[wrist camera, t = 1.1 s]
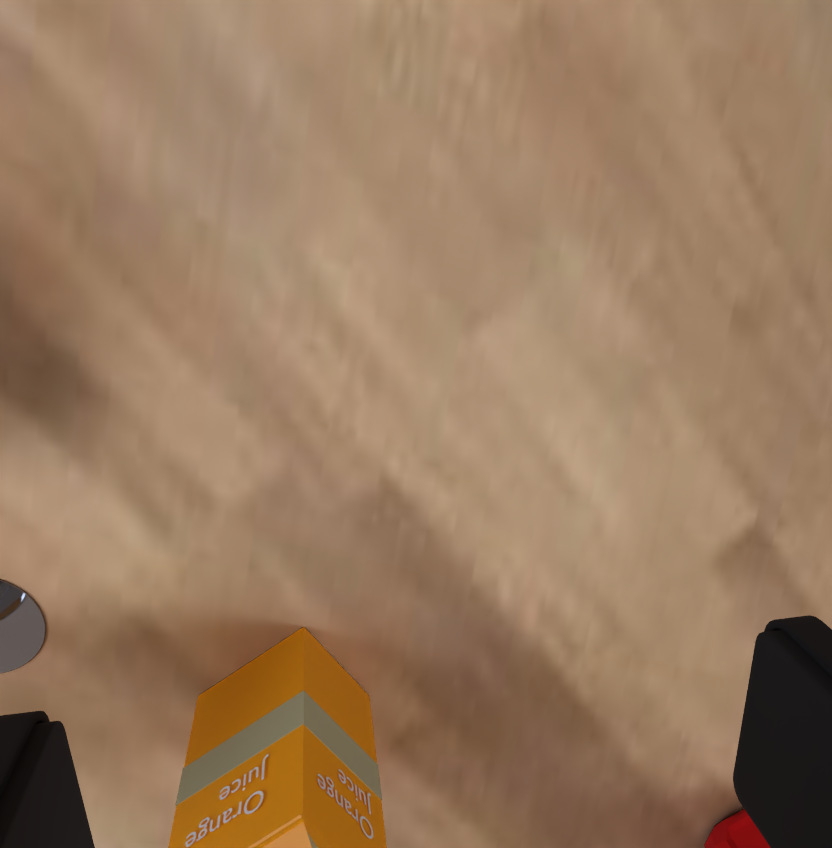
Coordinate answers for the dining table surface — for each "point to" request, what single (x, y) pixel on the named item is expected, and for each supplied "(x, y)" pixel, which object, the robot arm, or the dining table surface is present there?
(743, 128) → the dining table surface
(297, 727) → the orange juice
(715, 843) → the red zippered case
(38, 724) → the robot arm
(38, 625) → the wine glass
